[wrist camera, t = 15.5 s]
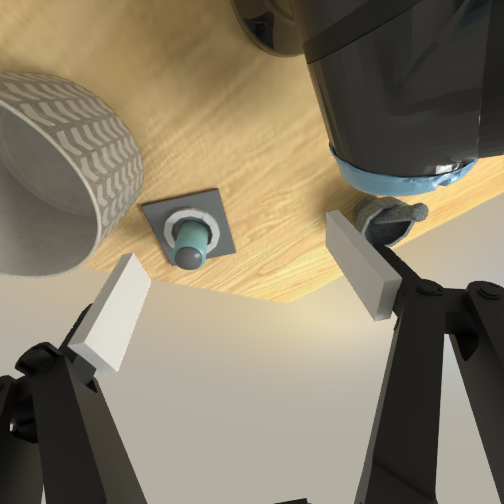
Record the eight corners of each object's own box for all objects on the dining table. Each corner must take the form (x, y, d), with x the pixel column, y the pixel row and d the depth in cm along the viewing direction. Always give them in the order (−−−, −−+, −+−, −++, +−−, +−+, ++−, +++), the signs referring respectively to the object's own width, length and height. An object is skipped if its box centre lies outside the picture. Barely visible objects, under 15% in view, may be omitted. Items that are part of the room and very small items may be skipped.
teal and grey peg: (175, 222, 42) (165, 249, 35) (204, 217, 42) (200, 243, 35) (184, 246, 45) (177, 274, 39) (211, 241, 45) (209, 269, 39)
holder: (142, 204, 40) (139, 209, 39) (218, 188, 40) (218, 192, 39) (172, 263, 49) (171, 269, 47) (235, 250, 48) (236, 255, 47)
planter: (171, 144, 35) (133, 184, 21) (120, 228, 43) (65, 301, 28) (25, 33, 27) (-213, -34, 12) (-7, 161, 34) (-179, 216, 20)
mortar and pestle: (378, 232, 49) (416, 267, 40) (338, 230, 48) (367, 266, 38) (403, 181, 43) (456, 208, 33) (358, 178, 42) (399, 205, 32)
